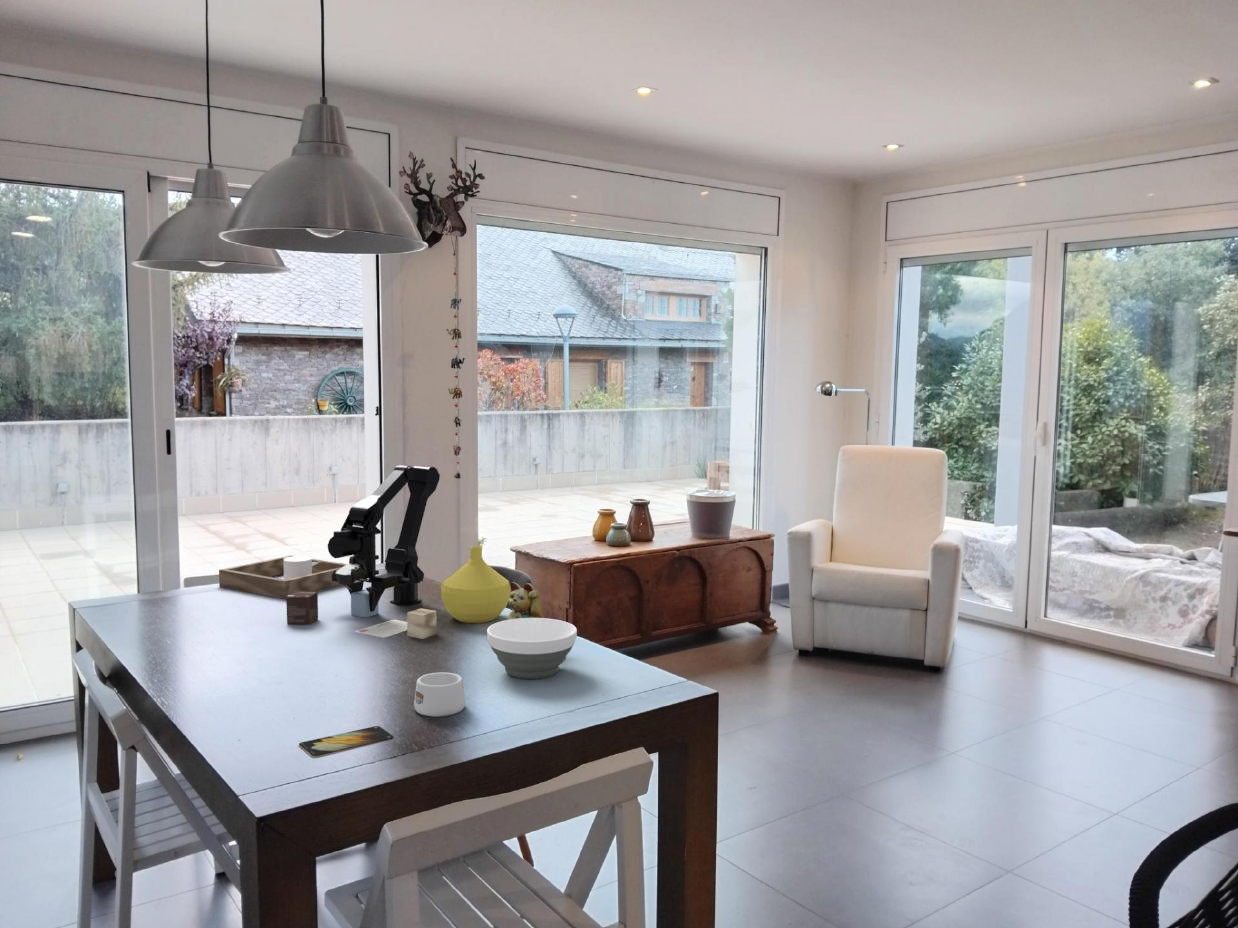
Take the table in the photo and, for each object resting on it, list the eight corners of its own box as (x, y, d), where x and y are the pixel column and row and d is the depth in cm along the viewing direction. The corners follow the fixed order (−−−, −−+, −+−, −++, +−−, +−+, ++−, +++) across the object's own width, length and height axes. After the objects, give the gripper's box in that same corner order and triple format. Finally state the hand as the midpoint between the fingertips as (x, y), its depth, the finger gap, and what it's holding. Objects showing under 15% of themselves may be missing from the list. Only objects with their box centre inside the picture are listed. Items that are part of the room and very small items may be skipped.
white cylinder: (343, 585, 289) (343, 559, 289) (283, 595, 275) (283, 567, 275) (310, 574, 303) (310, 549, 302) (251, 583, 289) (251, 557, 288)
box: (318, 619, 249) (318, 591, 248) (309, 625, 243) (308, 597, 242) (296, 618, 249) (296, 590, 248) (286, 624, 243) (285, 596, 242)
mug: (474, 710, 184) (474, 680, 183) (428, 721, 178) (428, 690, 177) (444, 694, 193) (444, 665, 193) (400, 703, 187) (399, 674, 187)
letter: (393, 619, 249) (393, 619, 249) (422, 625, 244) (422, 624, 244) (353, 631, 237) (353, 631, 237) (384, 638, 232) (384, 637, 232)
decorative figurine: (500, 643, 229) (500, 582, 228) (518, 635, 237) (518, 576, 235) (535, 649, 225) (535, 586, 224) (552, 640, 233) (553, 580, 231)
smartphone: (395, 737, 170) (312, 756, 160) (395, 740, 170) (312, 760, 160) (378, 725, 175) (297, 742, 166) (378, 728, 175) (297, 746, 166)
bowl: (554, 691, 196) (554, 646, 195) (470, 679, 203) (470, 635, 202) (589, 664, 214) (590, 623, 213) (511, 654, 221) (512, 614, 220)
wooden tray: (291, 570, 307) (290, 555, 306) (355, 581, 293) (354, 565, 293) (219, 586, 283) (219, 569, 283) (285, 598, 270) (284, 581, 269)
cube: (364, 611, 258) (364, 589, 257) (378, 613, 255) (378, 591, 254) (351, 615, 253) (350, 593, 253) (364, 617, 251) (364, 595, 250)
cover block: (420, 631, 239) (420, 608, 238) (436, 634, 236) (436, 611, 236) (407, 636, 234) (407, 612, 234) (423, 639, 232) (423, 615, 231)
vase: (503, 608, 264) (503, 539, 262) (517, 625, 246) (517, 552, 245) (436, 612, 258) (436, 542, 256) (446, 629, 241) (446, 555, 239)
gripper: (315, 553, 250) (316, 611, 252) (368, 561, 241) (369, 621, 242) (347, 546, 260) (347, 602, 261) (399, 554, 251) (399, 612, 252)
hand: (364, 609), depth 254 cm, fingers closed on cube, 5 cm apart
